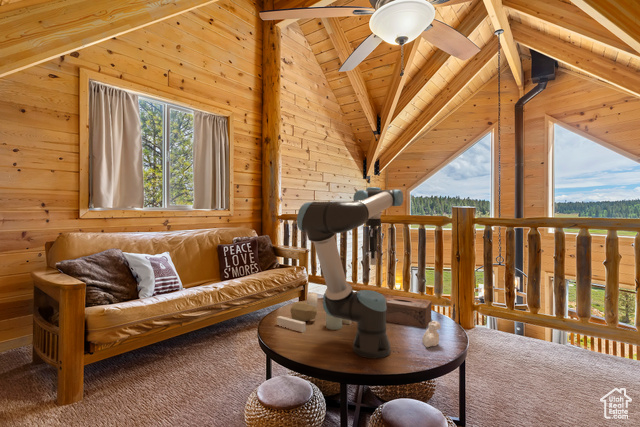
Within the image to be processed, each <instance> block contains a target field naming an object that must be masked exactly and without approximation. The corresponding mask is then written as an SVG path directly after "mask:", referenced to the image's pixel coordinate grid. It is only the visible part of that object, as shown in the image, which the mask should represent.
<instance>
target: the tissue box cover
mask: <svg viewBox="0 0 640 427" xmlns="http://www.w3.org/2000/svg"><path fill="white" fill-rule="evenodd" d="M382 295H383V296H384V297H385V299H386V306H387V309H386V323H387V322H388V323H393V324H398V323H399V325H406V326H410V325H411V326H412V327H415V326H416V327H417V328H421V327H422V328H423V329H427V328H428V324H429V323H430V322H432V321H431V320H432V300H429V299H421V298H414V297H406V296H398V295H391V294H382ZM411 326H410V327H411ZM426 327H427V328H426Z"/></svg>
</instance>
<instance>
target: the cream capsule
mask: <svg viewBox="0 0 640 427" xmlns="http://www.w3.org/2000/svg"><path fill="white" fill-rule="evenodd" d="M306 297H307V298H306V301H307V302H306V304H309V305H312V306H314V307H315V308H316V306H317V307H318V293H317V292H308V293H307V295H306Z"/></svg>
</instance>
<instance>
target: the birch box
mask: <svg viewBox="0 0 640 427" xmlns="http://www.w3.org/2000/svg"><path fill="white" fill-rule="evenodd" d="M353 322H354V321H350V320H345V319H342V324H346V325H351V324H352V323H353Z"/></svg>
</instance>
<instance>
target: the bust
mask: <svg viewBox="0 0 640 427" xmlns="http://www.w3.org/2000/svg"><path fill="white" fill-rule="evenodd" d="M441 325H442V324H441V323H440V322H439V321H437V320H432V321H430V322H429V324H428V326H427V328H426V331H425V332H424V334H423V336H422V339H421V341H422V343H423V345H424V346H425V347H426V348H430V347H436V346H437V345H438V344H439V342H440V333H439V332H438V330H441V328H442V327H441Z"/></svg>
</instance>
